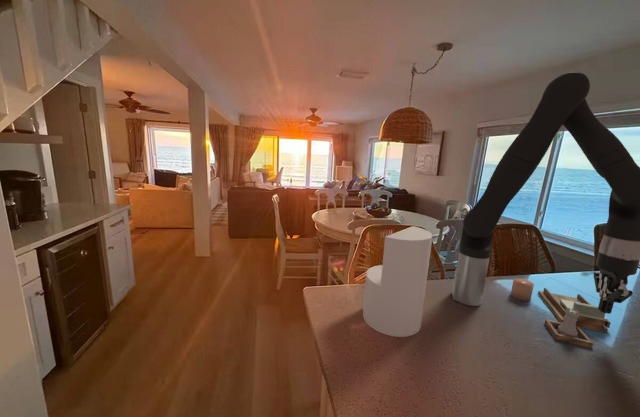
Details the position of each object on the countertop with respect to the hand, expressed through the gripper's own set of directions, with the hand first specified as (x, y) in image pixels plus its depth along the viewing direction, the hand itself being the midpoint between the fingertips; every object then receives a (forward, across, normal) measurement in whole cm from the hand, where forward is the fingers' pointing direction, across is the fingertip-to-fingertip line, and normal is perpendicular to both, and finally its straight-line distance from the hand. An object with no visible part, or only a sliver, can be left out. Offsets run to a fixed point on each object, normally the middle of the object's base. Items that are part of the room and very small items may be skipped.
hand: (604, 311), depth 74 cm
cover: (+5, -9, 0) cm, 11 cm away
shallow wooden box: (+8, -14, -1) cm, 17 cm away
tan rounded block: (+8, -18, -14) cm, 25 cm away
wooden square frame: (+8, +2, -8) cm, 12 cm away
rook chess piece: (+8, +2, -8) cm, 12 cm away
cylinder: (+8, +17, -56) cm, 59 cm away
